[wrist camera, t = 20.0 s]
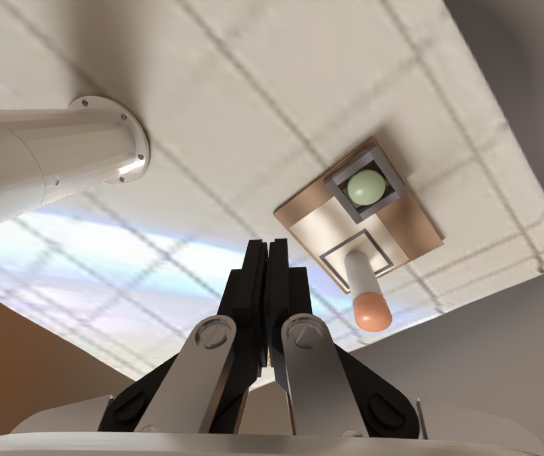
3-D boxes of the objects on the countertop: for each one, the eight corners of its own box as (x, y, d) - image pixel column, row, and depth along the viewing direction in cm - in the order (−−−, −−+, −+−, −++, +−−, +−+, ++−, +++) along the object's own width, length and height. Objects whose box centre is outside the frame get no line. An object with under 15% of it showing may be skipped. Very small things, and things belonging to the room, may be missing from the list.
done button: (357, 206, 36) (360, 211, 34) (339, 182, 34) (341, 186, 33) (387, 186, 34) (391, 191, 32) (369, 160, 33) (373, 163, 31)
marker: (354, 275, 42) (371, 336, 30) (338, 260, 41) (348, 318, 29) (374, 261, 40) (399, 321, 28) (357, 245, 39) (376, 300, 28)
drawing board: (345, 291, 45) (348, 303, 42) (273, 212, 39) (271, 220, 36) (441, 241, 38) (451, 251, 36) (372, 136, 32) (379, 139, 30)
